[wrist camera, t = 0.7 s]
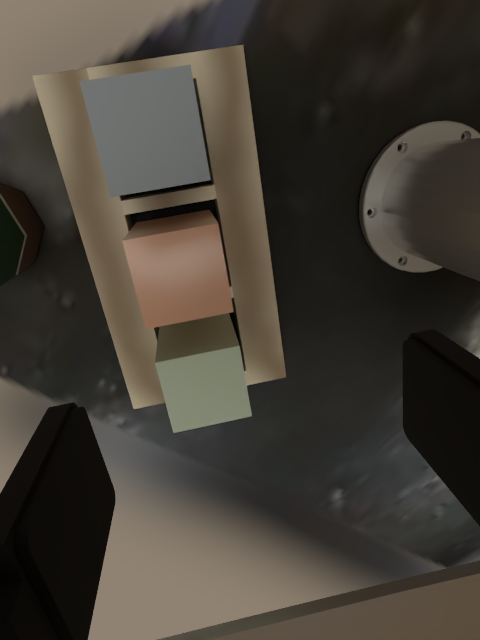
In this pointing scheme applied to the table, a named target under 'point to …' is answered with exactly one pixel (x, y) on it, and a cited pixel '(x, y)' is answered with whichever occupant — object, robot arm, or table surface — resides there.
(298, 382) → the table surface
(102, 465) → the robot arm
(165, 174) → the slate key
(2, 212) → the beer bottle
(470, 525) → the table surface
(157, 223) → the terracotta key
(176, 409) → the sage key
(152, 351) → the birch board
